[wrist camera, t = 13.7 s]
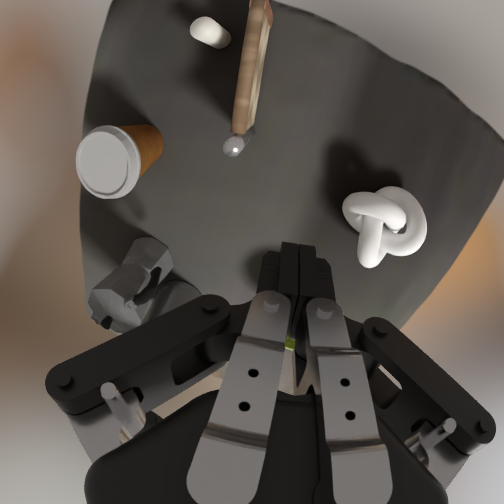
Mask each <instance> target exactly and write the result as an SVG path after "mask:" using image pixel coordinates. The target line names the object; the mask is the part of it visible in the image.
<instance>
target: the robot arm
mask: <svg viewBox="0 0 504 504" xmlns="http://www.w3.org/2000/svg"><path fill="white" fill-rule="evenodd" d="M288 333H289V339H295V346H294V350H293V353H292V365H293V395H290V394H287V393H284V392H281V391H278V385H279V380H280V375H281V369H282V364H283V358H284V352H285V339H286V338H287V336H288ZM227 361H229V363H228V366H227V369H226V372H225V375H224V378H223V381H222V384H221V387H220V389H219V390H214V391H210V392H207V393H205V394H202V395H200V396H198V397H196V398H195V399H193V400H191V401H190V402H189V403H187V404H186V405H184V406H183V407H181V408H180V409H178V410H177V411H175V412H174V413H172V414H171V415H169V416H167V417H166V418H165V419H162V418H161V417H160V416H159V415H157V414H156V413H154V412H152V411H151V410H152V409H154V408H156V407H157V406H159V405H161V404H163V403H164V402H166V401H168V400H169V399H171V398H173V397H174V396H176V395H178V394H179V393H181V392H183V391H184V390H185V389H188V388H189V387H191V386H192V385H194V384H196V383H197V382H199V381H200V380H202V379H203V378H205V377H207V376H208V375H210V374H211V373H213V372H215V371H216V370H218V369H219V368H221V367H222V366H223V365H225V363H226V362H227ZM380 365H382V366H383V367H384V368H385V369H386V370H387V371H388V372H389V373H390V374H391V375H392V376H393V377H394V378H395V379H396V380H397V381H398V382H399V383H400V384H401V387H402V390H401V389H399V388H398V387H397V386H396V385H395V384H394V383H393V382H392V381H391V380H390V379H389V378H388V377H387V376H386V375H385V374H384V373H383V372H382V371H381V370H380V369H379V368H378V367H379V366H380ZM45 386H46V390H47V392H48V394H49V395H50V396H51V397H52V399H53V400H54V401H55V402H56V403H57V405H58V407H59V408H60V409H61V411H62V412H63V413H64V414H65V415H66V416H67V417H68V418H69V420H70V422H71V424H72V426H73V428H74V430H75V432H76V434H77V436H78V438H79V440H80V442H81V444H82V446H83V447H84V449H85V451H86V453H87V454H88V456H89V458H90V460H91V461H92V463H93V464H92V465H91V467H90V469H89V470H88V472H87V475H86V479H85V485H84V490H85V497H86V501H87V504H448V497H447V493H446V491H445V489H446V488H447V487H448V486H449V484H450V483H451V482H452V480H453V479H454V478H455V476H456V475H457V473H458V472H459V471H460V469H461V468H462V466H463V465H464V463H465V462H466V460H467V459H468V457H469V456H470V455H472V454H474V453H475V452H476V451H478V450H479V449H481V448H482V447H484V446H485V445H487V444H488V443H489V442H491V441H492V440H493V438H494V436H495V433H496V424H495V421H494V419H493V417H492V416H491V415H490V413H489V412H487V411H486V410H485V409H484V408H483V407H482V406H481V405H480V404H479V403H478V402H477V401H476V400H475V399H474V398H473V397H472V396H471V395H470V394H469V393H468V392H467V391H465V390H464V389H463V388H462V387H461V386H460V385H459V384H458V383H457V382H456V381H455V380H454V379H453V378H452V377H450V375H448V374H447V373H446V372H445V371H444V370H443V369H442V368H441V367H439V366H438V364H436V363H435V362H434V361H433V360H432V359H431V358H430V357H429V356H428V355H426V354H425V353H424V352H423V351H422V350H421V349H420V348H419V347H418V346H416V345H415V344H414V343H413V342H412V341H411V340H410V339H408V338H407V337H406V336H405V335H404V334H403V333H402V332H401V331H399V330H398V329H397V328H396V327H395V326H394V325H393V324H391V323H390V322H389V321H387V320H385V319H383V318H379V317H371V318H368V319H367V320H366V321H365V322H364V324H362V323H359V322H357V321H354V320H351V319H349V318H347V317H346V316H344V314H343V311H342V308H341V307H340V306H339V305H338V304H337V303H336V299H335V292H334V285H333V279H332V272H331V266H330V265H329V263H328V262H327V261H326V260H325V259H322V258H316V249H315V246H309V245H303V244H299V246H298V244H295V243H289V242H282V244H281V250H280V252H274V251H268V252H267V253H266V254H265V255H264V256H263V260H262V265H261V271H260V276H259V281H258V287H257V292H256V295H255V296H254V297H253V299H252V300H251V301H249V302H247V303H245V304H240V305H230V304H229V303H228V301H227V300H226V299H224V298H223V297H221V296H218V295H212V294H207V295H201V294H200V292H199V291H198V290H197V289H196V288H195V287H193V286H192V285H190V284H188V283H186V282H182V281H169V282H167V283H165V284H164V285H163V286H162V287H161V289H160V291H159V293H158V294H157V296H156V298H155V299H154V301H153V303H152V305H151V306H150V308H149V310H148V312H147V313H146V315H145V317H144V319H143V321H142V323H141V324H140V326H138V327H136V328H134V329H132V330H130V331H128V332H125V333H123V334H121V335H119V336H117V337H115V338H113V339H111V340H109V341H107V342H105V343H103V344H100V345H98V346H96V347H94V348H92V349H90V350H88V351H86V352H83V353H81V354H79V355H77V356H75V357H73V358H71V359H69V360H66V361H64V362H62V363H60V364H58V365H56V366H54V367H53V368H52V369H51V370H50V371H49V373H48V374H47V377H46V380H45Z"/></svg>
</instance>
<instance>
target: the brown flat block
mask: <svg viewBox="0 0 504 504" xmlns="http://www.w3.org/2000/svg"><path fill="white" fill-rule="evenodd" d="M272 21H273V14H272V11H271V7H270V4H269V0H250V5H249V14H248V19H247V25H246V31H245V37H244V43H243V49H242V55H241V61H240V67H239V74H238V80H237V87H236V94H235V101H234V108H233V115H232V122H231V130H230V132H232V133H238V134H245V133H246V130H247V129H249V128H250V127H251V126H252V125H253V124H254V120H255V114H256V108H257V101H258V95H259V89H260V83H261V77H262V70H263V64H264V58H265V53H266V47H267V41H268V35H269V29H270V27H272Z"/></svg>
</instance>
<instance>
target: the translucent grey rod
mask: <svg viewBox="0 0 504 504" xmlns="http://www.w3.org/2000/svg"><path fill="white" fill-rule="evenodd" d="M255 132H256V131H255V128H254V127H253V126H251V127H250V128H249V129H247V130H246V133H245V134H238V133H236V134H235V135H233V136H232V137H231V138H230V139H228V140H227V141H226V142H225V143H224V145H223V151H224V153H225V154H226V155H227V156H230V157H235V156H237V155H238V154H239V153H240V152H241V151H242V149H243V148H244V147H245V146H246V144H247V143H248V142H249V141H250V140H251V138H252V137H253V136H254V135H255Z"/></svg>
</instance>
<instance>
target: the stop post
mask: <svg viewBox="0 0 504 504" xmlns="http://www.w3.org/2000/svg"><path fill="white" fill-rule="evenodd" d="M190 33H191V35H192V36H193V37H194V38H195V39H197V40H200V41H202V42H204V43H206V44H208V45H210V46H212V47H214V48H218V49H221V48H224V47H226V46H228V45H229V43H230V41H231V35H230V33H229V32H228V31H226V30H225V29H224V28H223V27H222V26H220V25H219V24H218V23H217V22H215V21H214V20H213V19H212V18H209V17H200V18H198V19H196V20H195V21H194V22H193V23H192V24H191V26H190Z"/></svg>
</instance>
